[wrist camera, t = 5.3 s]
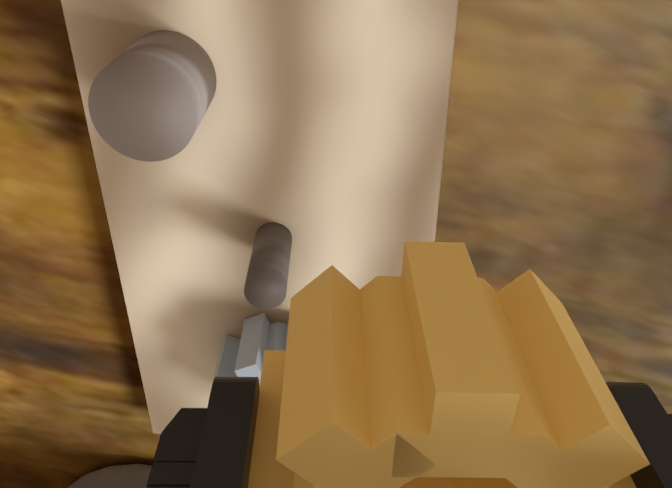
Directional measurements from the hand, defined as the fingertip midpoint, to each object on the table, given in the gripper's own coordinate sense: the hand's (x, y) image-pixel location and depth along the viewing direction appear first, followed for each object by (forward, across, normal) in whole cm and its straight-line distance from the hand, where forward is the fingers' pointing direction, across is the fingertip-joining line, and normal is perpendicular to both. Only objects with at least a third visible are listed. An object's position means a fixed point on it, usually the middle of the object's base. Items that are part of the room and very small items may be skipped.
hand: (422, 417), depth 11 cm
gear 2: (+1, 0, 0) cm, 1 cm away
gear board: (+17, +4, +6) cm, 19 cm away
